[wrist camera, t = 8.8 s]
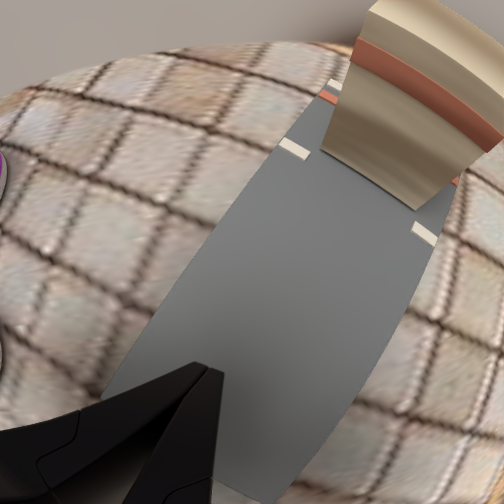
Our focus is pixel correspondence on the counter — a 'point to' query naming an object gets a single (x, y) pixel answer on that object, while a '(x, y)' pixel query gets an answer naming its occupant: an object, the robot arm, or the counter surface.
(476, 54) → the beige striped box
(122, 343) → the counter surface
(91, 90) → the counter surface
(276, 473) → the plate
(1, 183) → the supplement bottle
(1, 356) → the supplement bottle
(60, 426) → the robot arm
